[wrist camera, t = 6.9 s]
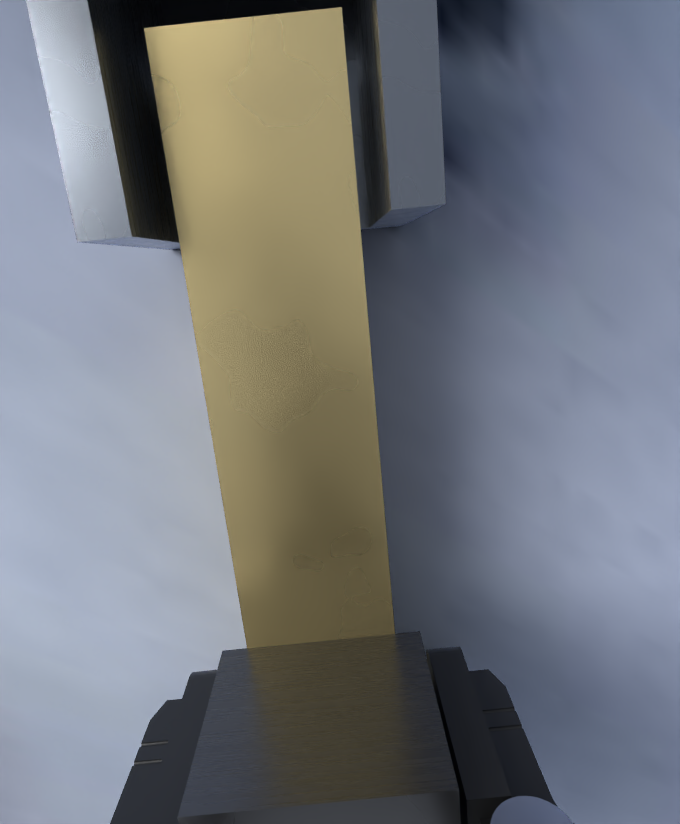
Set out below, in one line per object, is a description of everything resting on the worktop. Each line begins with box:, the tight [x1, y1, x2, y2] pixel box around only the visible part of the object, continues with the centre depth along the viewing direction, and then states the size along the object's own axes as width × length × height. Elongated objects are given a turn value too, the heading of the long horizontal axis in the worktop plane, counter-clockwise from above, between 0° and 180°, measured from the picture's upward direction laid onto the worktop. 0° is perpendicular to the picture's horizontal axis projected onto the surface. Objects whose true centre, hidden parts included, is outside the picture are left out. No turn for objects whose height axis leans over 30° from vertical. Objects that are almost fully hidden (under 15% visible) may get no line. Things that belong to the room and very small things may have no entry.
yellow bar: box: [144, 7, 461, 824], centre depth 10 cm, size 18×4×6 cm, turn 6°
